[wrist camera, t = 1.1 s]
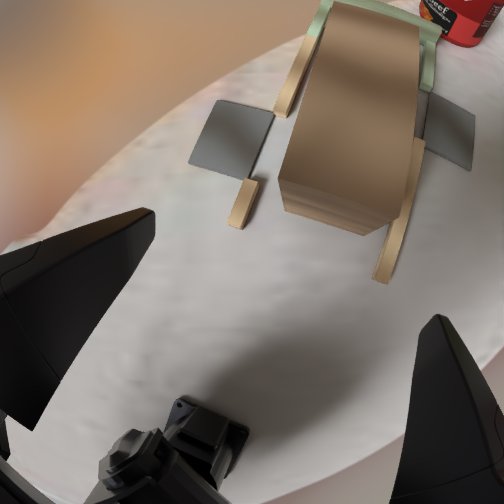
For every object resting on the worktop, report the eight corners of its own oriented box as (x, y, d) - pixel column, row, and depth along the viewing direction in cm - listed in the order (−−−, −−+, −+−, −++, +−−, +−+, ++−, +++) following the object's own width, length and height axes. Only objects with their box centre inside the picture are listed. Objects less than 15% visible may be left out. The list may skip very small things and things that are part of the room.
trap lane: (437, 305, 19) (455, 309, 16) (172, 204, 23) (155, 195, 20) (473, 65, 19) (484, 50, 16) (276, -3, 23) (274, -22, 20)
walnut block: (363, 236, 20) (399, 217, 13) (284, 211, 21) (277, 178, 14) (393, 85, 21) (419, 26, 13) (328, 65, 22) (333, 0, 14)
